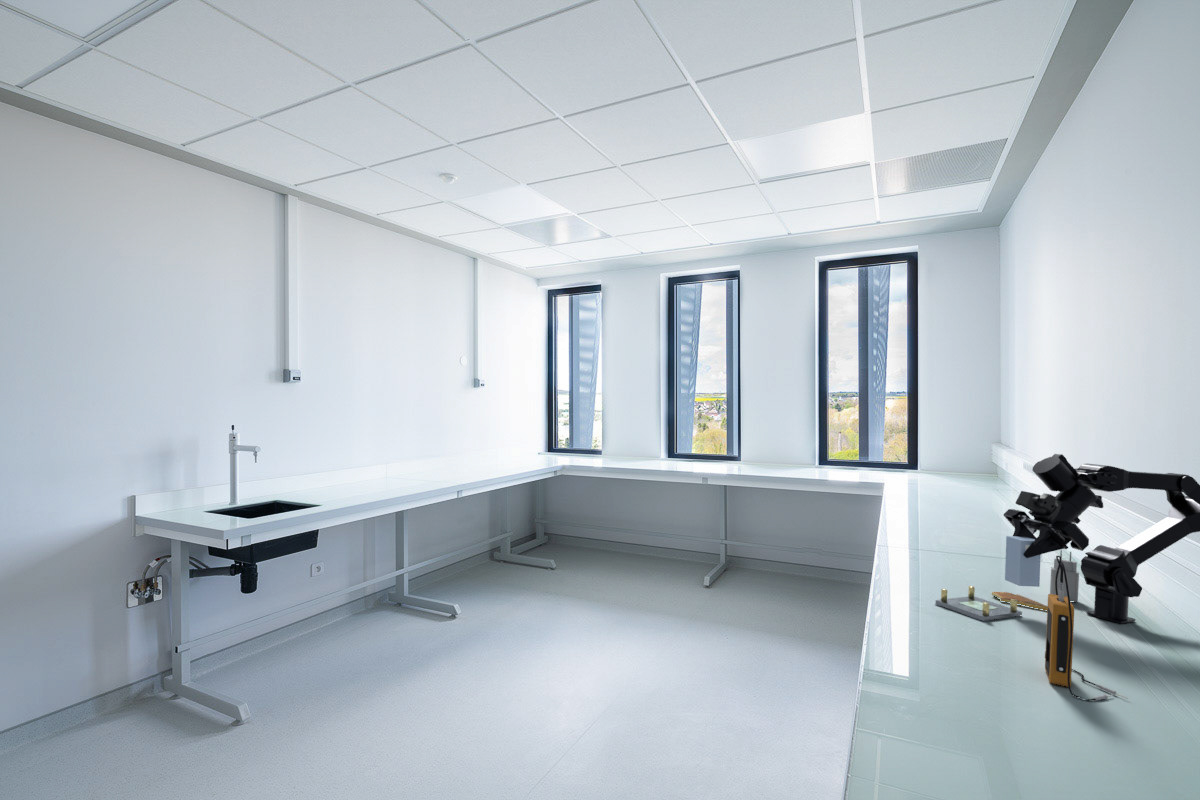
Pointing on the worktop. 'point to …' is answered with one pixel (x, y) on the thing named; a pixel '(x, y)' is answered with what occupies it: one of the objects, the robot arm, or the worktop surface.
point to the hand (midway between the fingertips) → (1016, 553)
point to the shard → (1019, 600)
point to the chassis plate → (978, 606)
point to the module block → (1021, 562)
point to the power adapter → (1071, 578)
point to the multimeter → (1062, 638)
